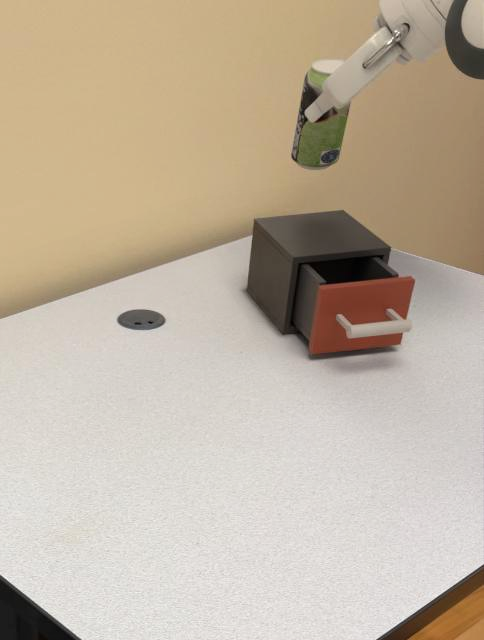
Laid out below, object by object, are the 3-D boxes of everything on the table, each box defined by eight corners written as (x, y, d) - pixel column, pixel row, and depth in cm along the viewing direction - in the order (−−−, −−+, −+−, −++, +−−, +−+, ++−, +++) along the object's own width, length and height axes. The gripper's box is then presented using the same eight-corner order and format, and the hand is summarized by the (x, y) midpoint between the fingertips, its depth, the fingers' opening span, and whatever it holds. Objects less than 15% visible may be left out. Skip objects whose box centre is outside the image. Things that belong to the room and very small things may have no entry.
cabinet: (375, 324, 113) (391, 247, 106) (282, 334, 112) (293, 257, 105) (331, 281, 124) (343, 209, 117) (246, 290, 123) (253, 218, 117)
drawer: (419, 362, 102) (436, 296, 97) (327, 373, 101) (339, 306, 96) (354, 301, 116) (366, 240, 111) (273, 309, 115) (281, 248, 110)
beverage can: (322, 157, 119) (337, 53, 111) (352, 171, 114) (370, 62, 106) (280, 163, 118) (292, 58, 110) (307, 177, 112) (322, 68, 105)
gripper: (415, 59, 95) (310, 153, 105) (444, 27, 108) (348, 112, 118) (380, 9, 94) (277, 109, 104) (413, -18, 107) (319, 73, 117)
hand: (315, 110), depth 111 cm, fingers closed on beverage can, 5 cm apart
